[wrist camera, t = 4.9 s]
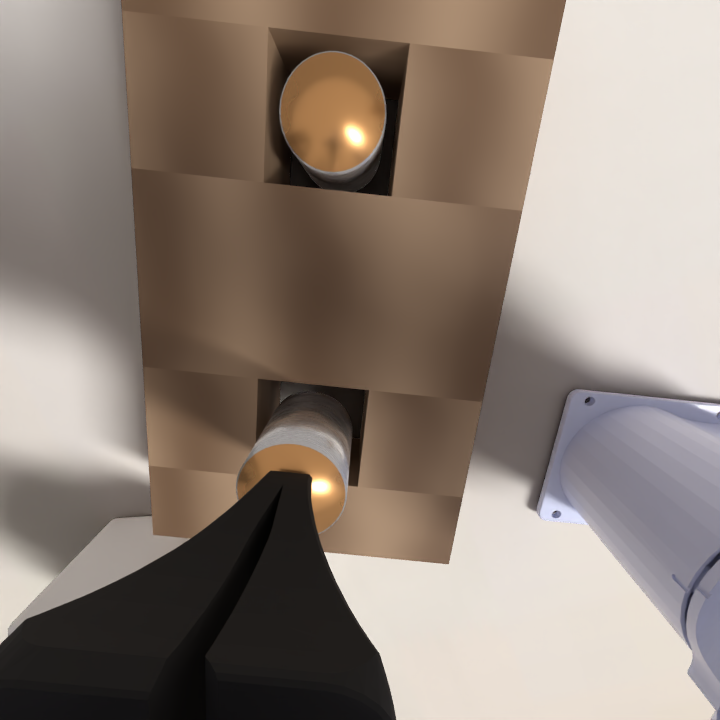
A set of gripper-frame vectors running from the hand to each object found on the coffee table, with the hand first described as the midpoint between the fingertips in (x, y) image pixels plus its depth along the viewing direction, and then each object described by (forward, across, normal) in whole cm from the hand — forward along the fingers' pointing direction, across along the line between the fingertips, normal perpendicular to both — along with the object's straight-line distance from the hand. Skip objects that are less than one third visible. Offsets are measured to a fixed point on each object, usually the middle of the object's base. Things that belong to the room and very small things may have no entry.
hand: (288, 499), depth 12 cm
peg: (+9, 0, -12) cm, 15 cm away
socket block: (+9, 0, -6) cm, 11 cm away
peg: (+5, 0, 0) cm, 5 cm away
